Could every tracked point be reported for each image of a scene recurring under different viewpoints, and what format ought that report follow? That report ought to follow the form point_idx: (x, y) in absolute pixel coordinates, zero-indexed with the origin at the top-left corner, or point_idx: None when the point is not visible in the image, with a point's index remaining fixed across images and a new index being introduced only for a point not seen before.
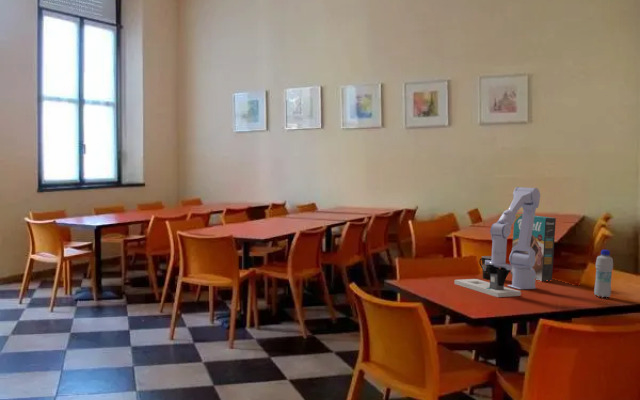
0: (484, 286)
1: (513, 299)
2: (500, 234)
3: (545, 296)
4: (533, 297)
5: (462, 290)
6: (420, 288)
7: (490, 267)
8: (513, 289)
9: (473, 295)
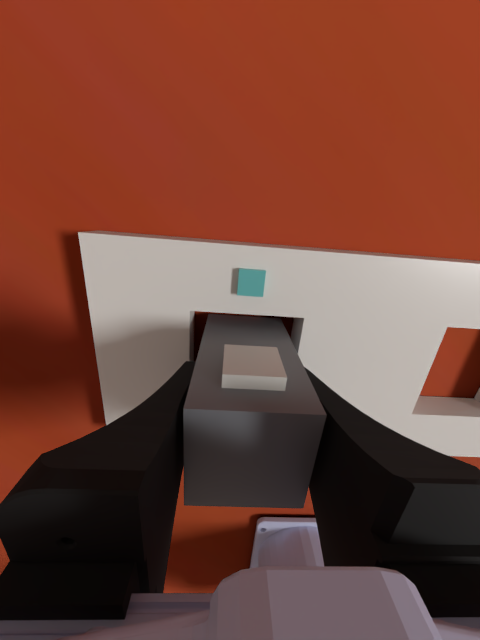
0: (340, 324)
1: (11, 297)
2: None
3: None
4: None
5: (431, 121)
6: None
7: (396, 517)
8: None
9: (214, 32)
